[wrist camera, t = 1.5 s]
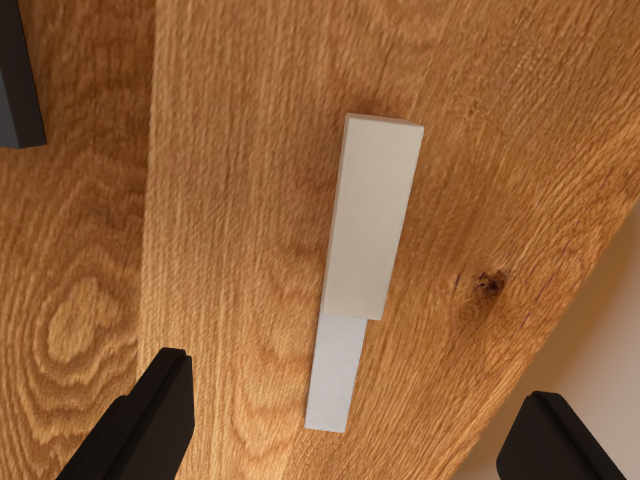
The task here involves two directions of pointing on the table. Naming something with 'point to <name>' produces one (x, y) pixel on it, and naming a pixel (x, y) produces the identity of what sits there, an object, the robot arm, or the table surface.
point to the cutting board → (17, 85)
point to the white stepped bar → (359, 255)
